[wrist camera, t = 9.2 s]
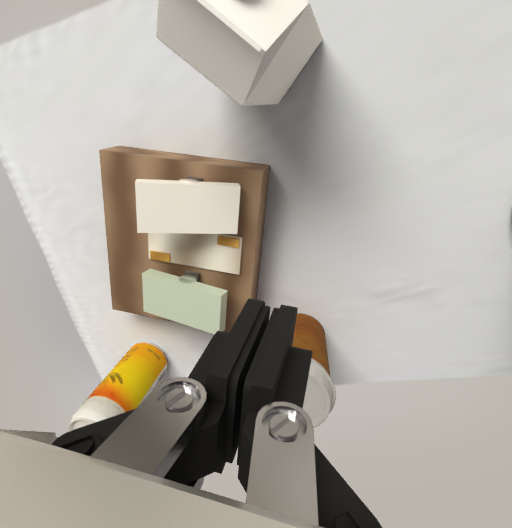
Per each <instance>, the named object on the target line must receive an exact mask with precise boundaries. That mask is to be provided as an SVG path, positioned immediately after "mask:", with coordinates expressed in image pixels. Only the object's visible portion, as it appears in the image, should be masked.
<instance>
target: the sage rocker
mask: <svg viewBox="0 0 512 528" xmlns="http://www.w3.org/2000/svg"><path fill="white" fill-rule="evenodd" d="M196 280H197V279H196V277H194V276H192V275H183V276H180V277H178V276H175V275H171V274H168V273H164V272H161V271H157V270H154V269H149V270H147V271H145V272H143V273H142V285H143V309H144V312H148V313H151V314H154V315H157V316H160V317H163V318H166V319H169V320H172V321H175V322H178V323H181V324H184V325H187V326H190V327H193V328H196V329H199V330H202V331H205V332H208V333H211V334H214V335H215V333H216V332H217V331H224V330H225V323H226V307H227V292H228V290H224V289H221V288H217V287H214V286H210V285H207V284H203V283H200V282H196Z"/></svg>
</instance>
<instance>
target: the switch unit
mask: <svg viewBox="0 0 512 528" xmlns="http://www.w3.org/2000/svg"><path fill="white" fill-rule="evenodd" d="M99 152H100V164H101V176H102V188H103V200H104V212H105V224H106V236H107V248H108V260H109V272H110V284H111V296H112V308H113V309H115V310H120V311H124V312H129V313H134V314H139V315H144V316H149V317H154V318H159V319H163V320H168V321H172V320H169V319H166V318H163V317H160V316H157V315H154V314H151V313H148V312H144V309H143V285H142V273H143V272H145V271H147V270H149V269H154V270H157V271H161V272H164V273H168V274H171V275H175V276H178V277H180V276H183V275H192V276H194V277H196V279H197V280H196V282H200V283H203V284H207V285H210V286H214V287H217V288H221V289H224V290H228V292H227V307H226V323H225V330H224V331H223V332H227V333H229V332H230V330H231V329H232V327H233V325H234V323H235V322H236V320H237V318H238V316H239V314H240V313H241V311H242V309H243V307H244V305H245V304H246V302H247V300H248V299H249V298H250V299H255V300H256V297H257V287H258V278H259V268H260V258H261V248H262V239H263V229H264V219H265V209H266V199H267V190H268V180H269V170H270V165H264V164H256V163H248V162H241V161H233V160H225V159H217V158H210V157H202V156H194V155H186V154H178V153H171V152H163V151H155V150H147V149H140V148H132V147H124V146H116V147H111V148H107V149H102V150H99ZM136 179H152V180H176V181H179V180H180V179H194V180H198V181H199V182H222V183H239V185H240V187H241V189H240V203H239V217H238V231H237V234H191V233H137V214H136V193H135V181H136ZM173 322H175V321H173Z"/></svg>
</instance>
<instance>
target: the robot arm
mask: <svg viewBox="0 0 512 528" xmlns="http://www.w3.org/2000/svg"><path fill="white" fill-rule="evenodd" d="M269 314H270V307H269V306H265V302H264V301H260V300H255V299H250V298H249V299H248V300H247V302H246V304H245V305H244V307H243V309H242V311H241V313H240V314H239V316H238V318H237V320H236V322H235V323H234V325H233V327H232V329H231V330H230V332H229V333H227V332H223V331H217V332H216V333H215V335H214V336H213V338H212V339H211V341H210V343H209V344H208V346H207V348H206V349H205V351H204V352H203V354H202V356H201V357H200V359H199V361H198V362H197V364H196V365H195V367H194V369H193V370H192V372H191V373H190V375H189V377H188V378H186V377H178V378H173V379H169V380H167V381H164V382H162V383H161V384H160V385H158V386H157V387H156V388H155V389H154V390H153V391H152V392H151V393H150V394H149V395H148V396H147V397H146V399H145V400H144V401H143V402H142V403H141V404H140V405H139V406H138V407H137V408H136V409H133V410H131V411H128V412H125V413H122V414H119V415H116V416H113V417H110V418H107V419H104V420H101V421H98V422H95V423H92V424H89V425H86V426H83V427H80V428H77V429H74V430H72V431H70V432H67V433H65V434H63V435H62V436H60V437H56V435H55V433H52V432H35V431H18V430H0V528H382V527H381V525H380V524H379V522H378V521H377V519H376V518H375V516H374V515H373V514H372V513H371V512H370V510H369V509H368V508H367V507H366V506H365V505H364V503H363V502H362V501H361V500H360V498H359V497H358V496H357V495H356V494H355V492H354V491H353V490H352V489H351V488H350V487H349V485H348V484H347V483H346V481H345V480H344V479H343V478H342V477H341V476H340V474H339V473H338V472H337V471H336V469H335V468H334V467H333V466H332V465H331V464H330V462H329V461H328V460H327V459H326V457H325V456H324V455H323V454H322V453H321V451H320V450H319V449H318V448H317V447H316V446H315V444H314V430H313V423H312V420H311V418H310V416H309V415H308V413H307V412H305V411H304V410H303V404H304V398H305V393H306V387H307V382H308V376H309V370H310V365H311V359H312V353H313V351H311V350H306V349H302V348H297V347H292V344H293V337H294V331H295V324H296V317H297V308H296V307H291V306H286V305H281V307H280V309H279V308H274V310H273V312H272V315H271V317H270V319H269ZM237 448H238V457H237V465H239V471H238V479H239V480H240V483H241V484H242V486H243V488H244V490H245V491H246V493H247V496H246V503H243V502H240V501H236V500H233V499H230V498H226V497H223V496H219V495H217V494H213V493H210V492H207V491H203V490H200V489H201V487H202V484H203V481H204V476H206V475H209V474H211V473H213V472H217V473H222V471H223V468H224V466H225V463H226V462H229V463H232V462H233V460H234V457H235V454H236V451H237Z"/></svg>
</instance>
